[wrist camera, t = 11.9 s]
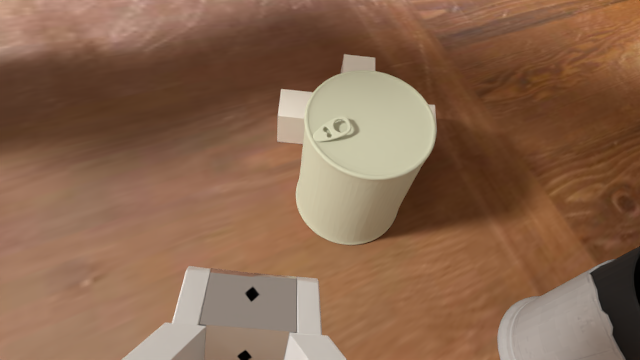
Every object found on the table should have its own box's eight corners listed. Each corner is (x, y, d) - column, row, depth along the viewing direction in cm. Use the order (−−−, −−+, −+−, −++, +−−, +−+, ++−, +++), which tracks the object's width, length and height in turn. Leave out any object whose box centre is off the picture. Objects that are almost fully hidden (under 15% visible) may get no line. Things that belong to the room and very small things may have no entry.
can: (280, 171, 43) (282, 83, 32) (369, 141, 45) (399, 51, 35) (321, 261, 39) (339, 195, 29) (416, 223, 42) (465, 149, 31)
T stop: (424, 156, 45) (436, 132, 42) (277, 141, 44) (277, 115, 41) (420, 90, 49) (431, 63, 45) (285, 76, 48) (286, 47, 45)
